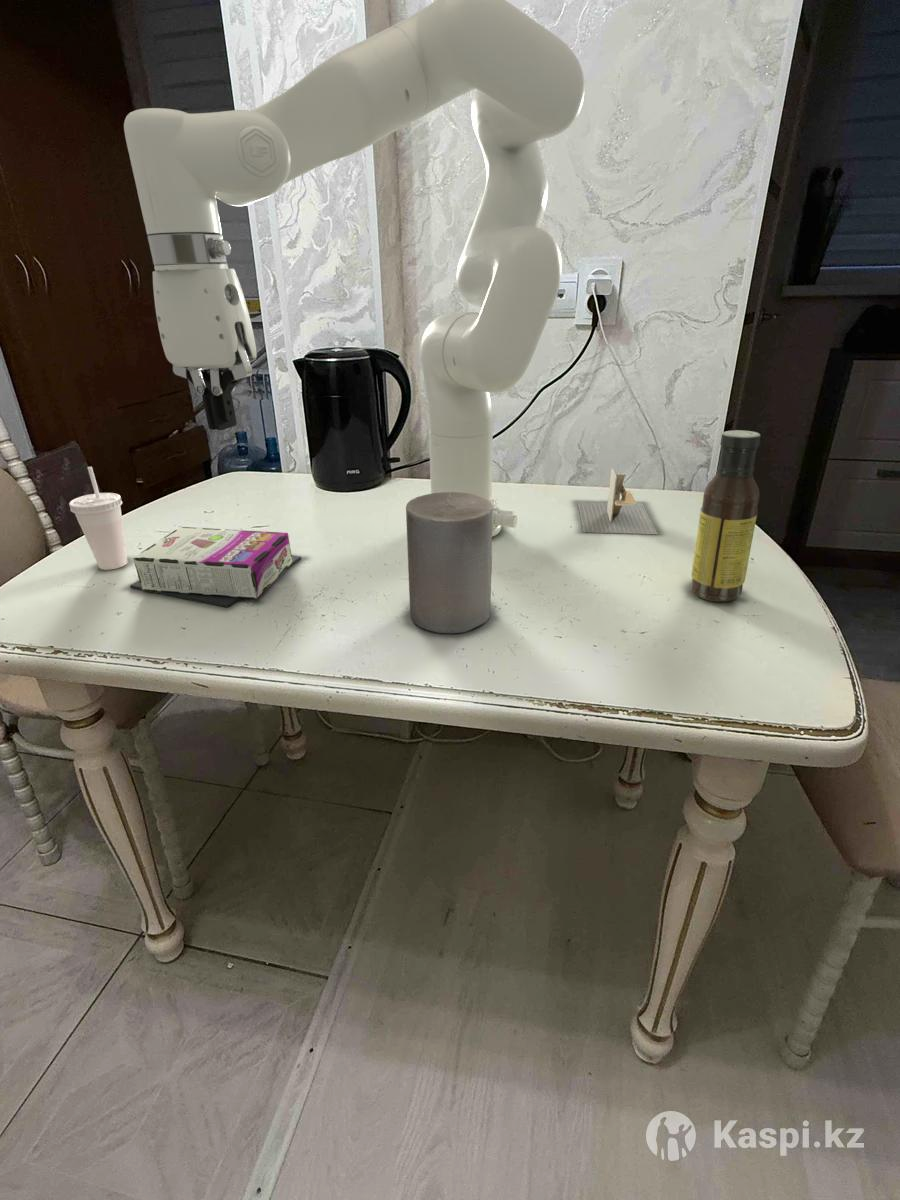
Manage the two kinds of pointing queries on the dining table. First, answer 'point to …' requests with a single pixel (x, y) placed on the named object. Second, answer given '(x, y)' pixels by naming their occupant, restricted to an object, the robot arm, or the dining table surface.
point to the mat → (210, 599)
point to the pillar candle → (449, 560)
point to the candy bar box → (214, 562)
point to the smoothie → (102, 525)
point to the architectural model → (616, 512)
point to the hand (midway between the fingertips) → (223, 427)
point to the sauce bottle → (727, 520)
